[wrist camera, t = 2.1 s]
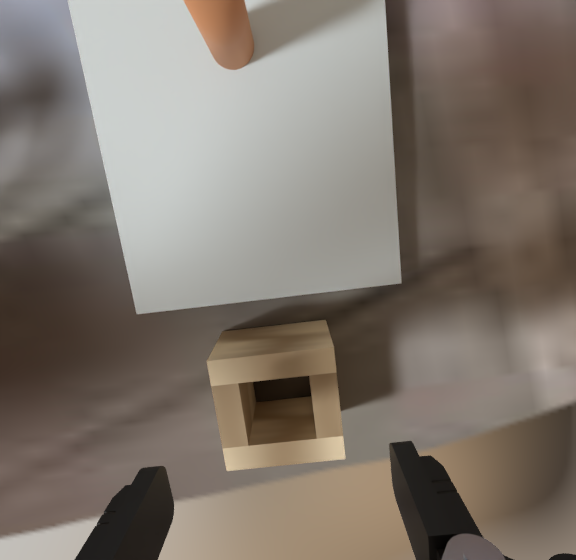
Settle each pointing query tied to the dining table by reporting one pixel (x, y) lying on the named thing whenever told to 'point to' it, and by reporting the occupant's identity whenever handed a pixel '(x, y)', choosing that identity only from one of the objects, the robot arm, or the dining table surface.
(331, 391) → the square wooden ring
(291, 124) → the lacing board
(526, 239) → the dining table surface
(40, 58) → the dining table surface
